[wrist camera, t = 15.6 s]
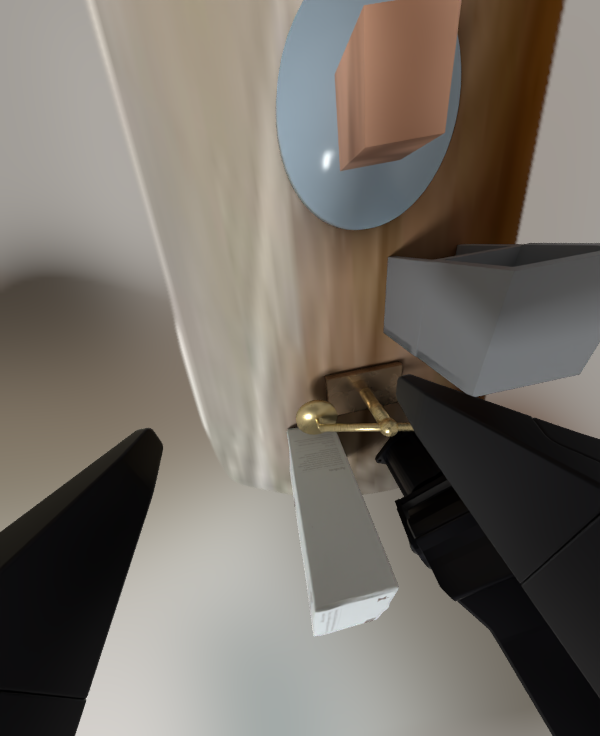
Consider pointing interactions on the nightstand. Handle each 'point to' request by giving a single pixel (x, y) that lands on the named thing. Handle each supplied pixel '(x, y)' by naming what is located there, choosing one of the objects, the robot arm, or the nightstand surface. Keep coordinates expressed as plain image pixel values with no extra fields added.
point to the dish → (320, 132)
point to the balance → (355, 401)
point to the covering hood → (512, 318)
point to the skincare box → (336, 536)
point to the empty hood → (411, 284)
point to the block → (395, 80)
